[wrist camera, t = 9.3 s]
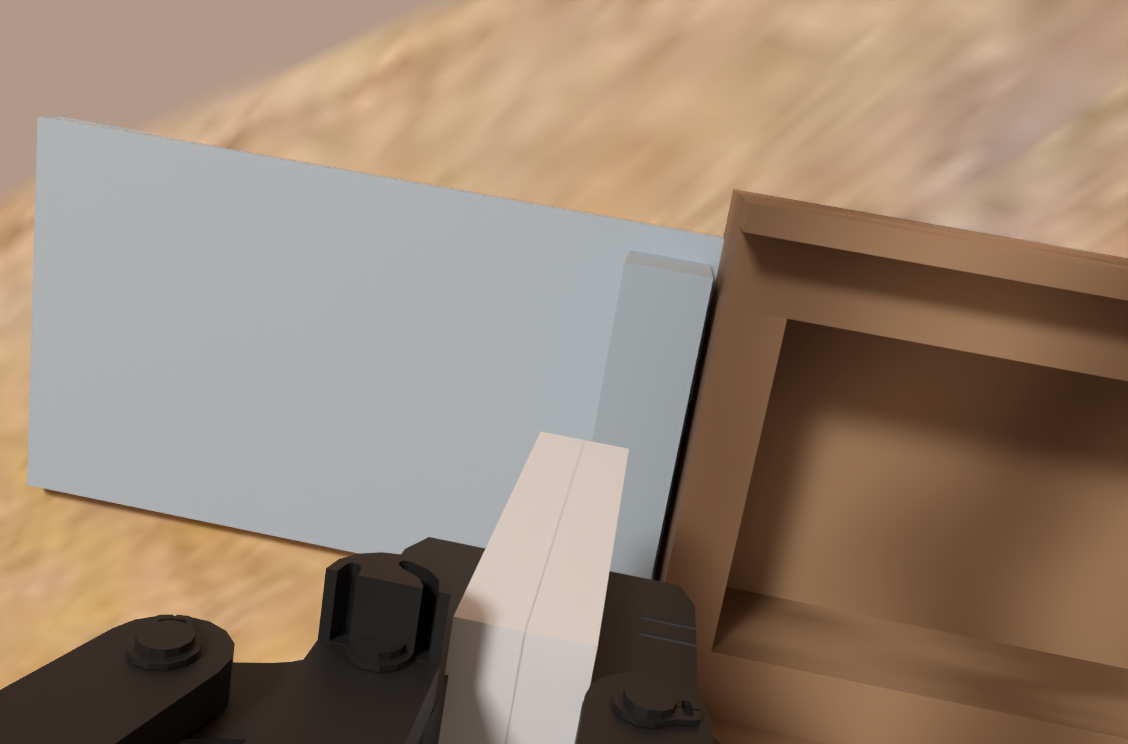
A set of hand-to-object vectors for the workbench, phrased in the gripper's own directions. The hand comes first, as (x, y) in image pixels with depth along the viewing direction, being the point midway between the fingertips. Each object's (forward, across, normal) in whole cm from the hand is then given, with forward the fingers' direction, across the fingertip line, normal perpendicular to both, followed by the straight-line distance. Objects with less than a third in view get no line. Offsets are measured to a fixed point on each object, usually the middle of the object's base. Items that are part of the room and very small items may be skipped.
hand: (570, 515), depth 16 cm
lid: (+8, +6, 0) cm, 10 cm away
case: (+7, -10, 0) cm, 12 cm away
